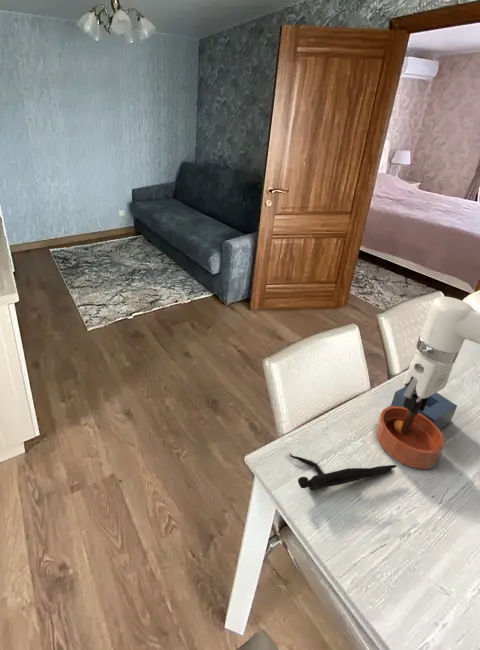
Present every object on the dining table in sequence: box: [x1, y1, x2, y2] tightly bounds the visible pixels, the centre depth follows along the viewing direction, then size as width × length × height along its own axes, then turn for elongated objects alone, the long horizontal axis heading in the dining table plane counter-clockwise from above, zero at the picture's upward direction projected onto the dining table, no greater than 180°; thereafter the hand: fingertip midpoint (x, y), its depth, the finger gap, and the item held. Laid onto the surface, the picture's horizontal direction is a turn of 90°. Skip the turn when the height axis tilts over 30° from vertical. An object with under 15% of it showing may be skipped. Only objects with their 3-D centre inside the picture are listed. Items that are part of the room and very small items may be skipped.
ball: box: [393, 420, 403, 434], centre depth 90 cm, size 3×3×3 cm
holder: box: [390, 386, 458, 430], centre depth 95 cm, size 10×10×6 cm
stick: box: [401, 391, 422, 435], centre depth 86 cm, size 2×2×13 cm
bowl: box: [375, 405, 445, 470], centre depth 87 cm, size 13×13×6 cm
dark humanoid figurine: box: [287, 452, 397, 491], centre depth 81 cm, size 8×9×25 cm
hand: (413, 407), depth 86 cm, fingers closed on stick, 2 cm apart
